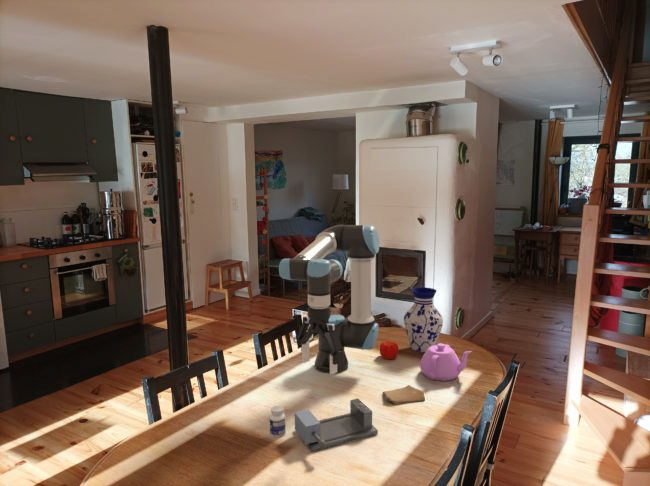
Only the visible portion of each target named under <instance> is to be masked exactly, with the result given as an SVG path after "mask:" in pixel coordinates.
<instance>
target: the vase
mask: <svg viewBox="0 0 650 486" xmlns="http://www.w3.org/2000/svg"><path fill="white" fill-rule="evenodd" d="M411 293H412V295H413V297H414V302H413V304H412V306H410V308H409V309H407V310H406V312H404V313H405V314H404V316H403V325H404V328H405V333H406V335H407V339H408V341H409V345H410V348H411V350H412V352H415V353H419V354H425V352H426V351H427V350H428V349H429V347H431V346H434V345H437V344H438V343H437V342H438V340H439V337H440V334H441V332H442V329H443V324H444V317H443V316H442V315H443V314H441V312H440V311H439V310H438V309H437V308H436V306H435V305H434V301H433V300H434V298H435V295H436V293H437V290H436V289H435V288H431V287H422V286H421V287H413V288H411Z"/></svg>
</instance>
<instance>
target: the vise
mask: <svg viewBox="0 0 650 486" xmlns="http://www.w3.org/2000/svg"><path fill="white" fill-rule="evenodd" d="M349 406H350V408H349V409H350V411H349V412H348V413H346V414H345V413H344V414H341V415H337V416H333V417H329V418H325V419H324V418H323V419H320V420H318V421H319V422H320V423H321V440H324V441H325V446H324V447H323V448H321V447H319V445H318V442H314V443H310V444H306V443H305V442H304V441H303V439H302V438H301V437H300V435H299V434H298V436H299V437H300V438H301V440H302V441H303V443H304V444H305V445H306V447H308V449H309V451H310V452H311V453H314V452H317V451H321V450H322V451H323V450H325V449H329V448H332V447H337V446H340V445H344V444H348V443H350V442H355V441H358V440H361V439H366V438H369V437H373V436H377V435H378V434H379V431H378V429H377V428H376V427H375V426H374V425H373V410H371V408H369V407H368V406H367V405H366V404H365V403H364V402H362V401H361V400H360V399H359V398H354V399H350V405H349ZM295 432H296V433H297V431H296V430H295Z"/></svg>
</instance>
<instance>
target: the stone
mask: <svg viewBox="0 0 650 486" xmlns="http://www.w3.org/2000/svg"><path fill="white" fill-rule="evenodd" d="M382 394H383V396H384V398H385V400H386V401H389V402H391V403H393V404H395V405H401V404H407V403H416V402H424V401H425V400H426V396H425V392H424V391H423V390H421V389H419V388H416V387H414V386H411V385H410V384H408V385H406V386H404V387H401V388H395V389H391V390H387V391H383V392H382Z"/></svg>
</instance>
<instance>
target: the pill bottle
mask: <svg viewBox="0 0 650 486" xmlns="http://www.w3.org/2000/svg"><path fill="white" fill-rule="evenodd" d="M270 411H271V412H270V415H269V433H270V436H272V437H273V438H280V437H283V436H284V435H286V428H287V427H286V415H285V413H284V407H283V406H281V405H275V406H272V407H271V410H270Z"/></svg>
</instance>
